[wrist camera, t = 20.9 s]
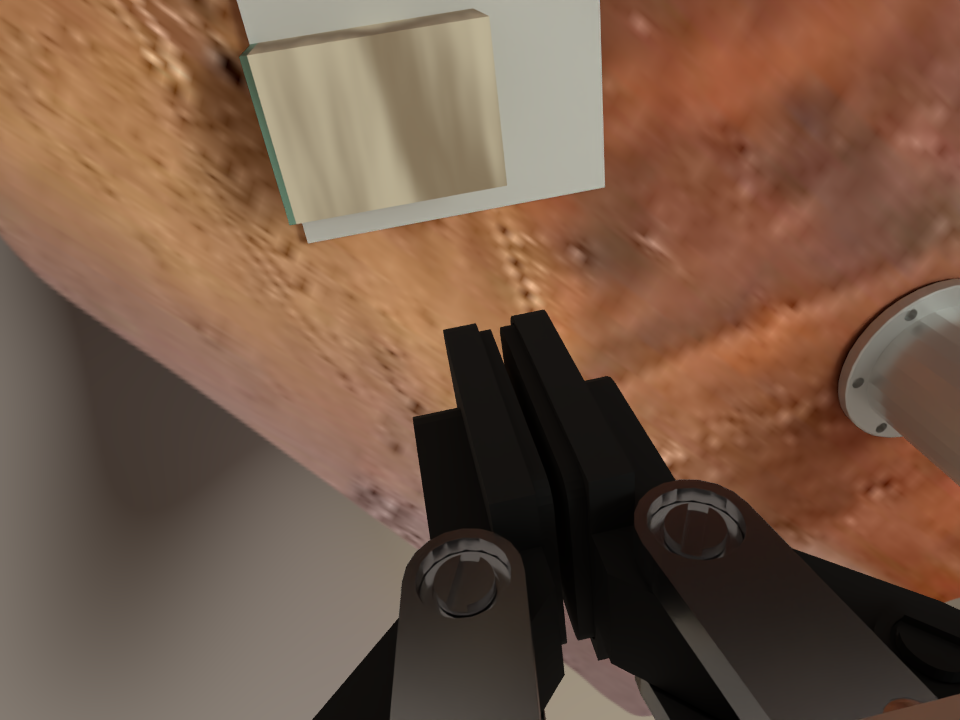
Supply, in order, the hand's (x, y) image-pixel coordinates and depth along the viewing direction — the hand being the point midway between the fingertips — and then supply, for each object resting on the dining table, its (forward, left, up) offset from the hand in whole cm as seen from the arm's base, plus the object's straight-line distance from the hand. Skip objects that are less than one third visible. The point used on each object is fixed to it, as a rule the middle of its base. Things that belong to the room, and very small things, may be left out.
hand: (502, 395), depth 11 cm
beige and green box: (-4, 0, -22) cm, 23 cm away
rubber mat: (-2, 0, -25) cm, 25 cm away
